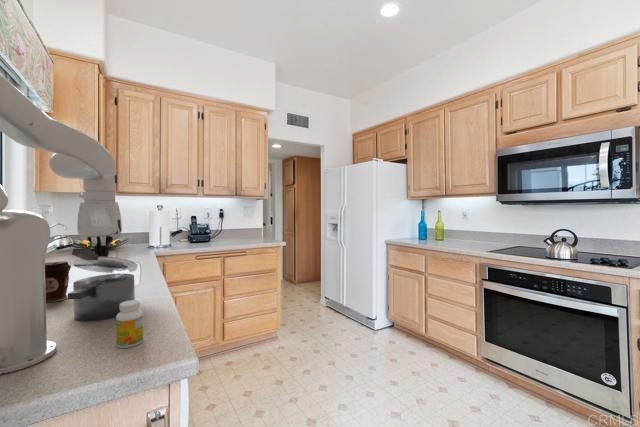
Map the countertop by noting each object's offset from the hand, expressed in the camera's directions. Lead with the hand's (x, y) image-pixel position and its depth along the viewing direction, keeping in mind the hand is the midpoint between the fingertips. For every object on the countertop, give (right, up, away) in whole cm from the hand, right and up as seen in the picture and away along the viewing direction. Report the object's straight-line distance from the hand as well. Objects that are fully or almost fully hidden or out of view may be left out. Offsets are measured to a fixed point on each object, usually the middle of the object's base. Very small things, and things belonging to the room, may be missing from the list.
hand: (102, 258), depth 88 cm
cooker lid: (0, -2, 0) cm, 2 cm away
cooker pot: (0, -17, 0) cm, 17 cm away
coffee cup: (-26, -17, +13) cm, 33 cm away
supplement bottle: (+21, -18, -19) cm, 33 cm away
